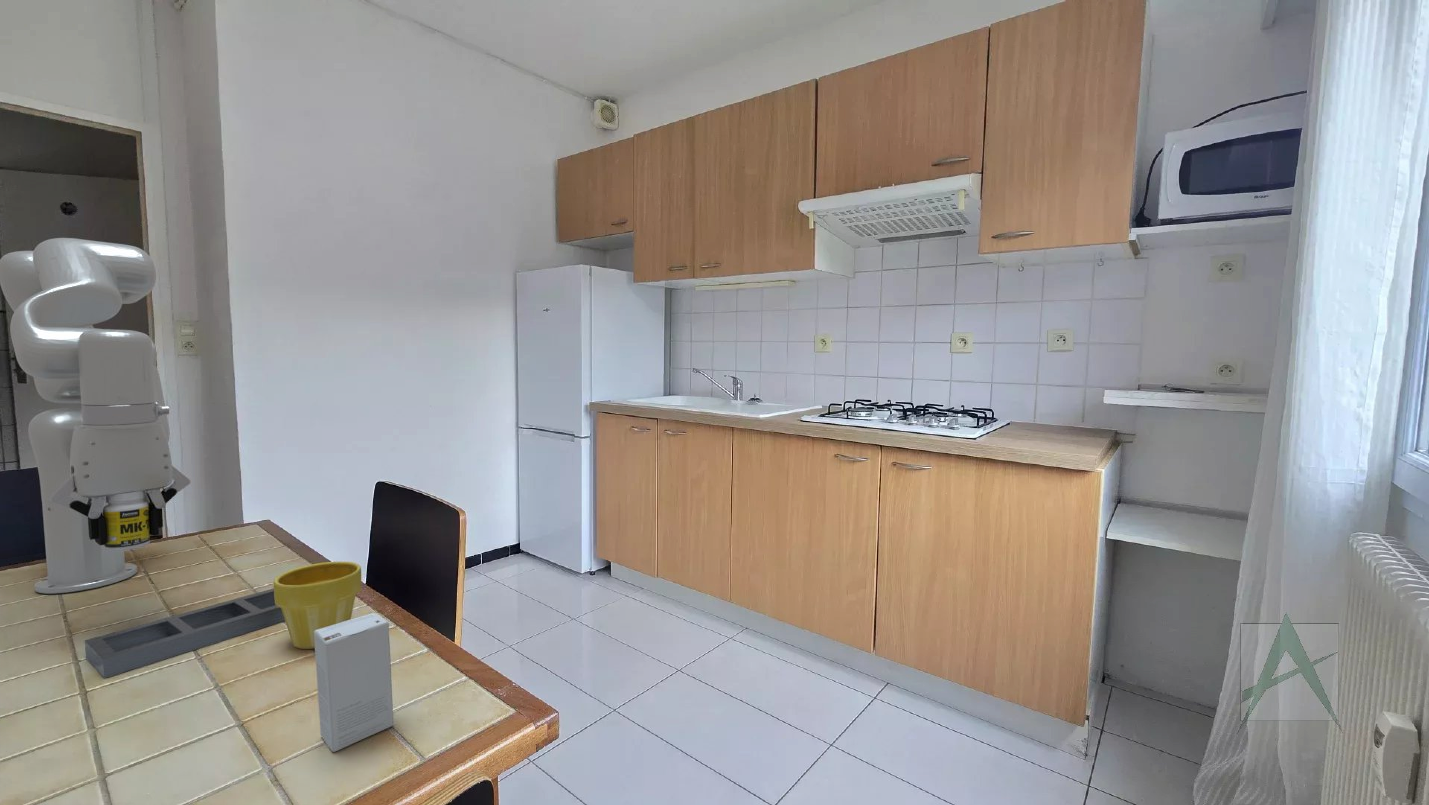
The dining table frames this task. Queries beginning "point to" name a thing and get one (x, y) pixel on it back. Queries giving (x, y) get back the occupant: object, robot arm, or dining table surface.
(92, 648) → the grey long slotted tray
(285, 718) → the dining table surface
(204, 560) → the dining table surface
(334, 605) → the plant pot
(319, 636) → the skincare box
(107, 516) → the supplement bottle
